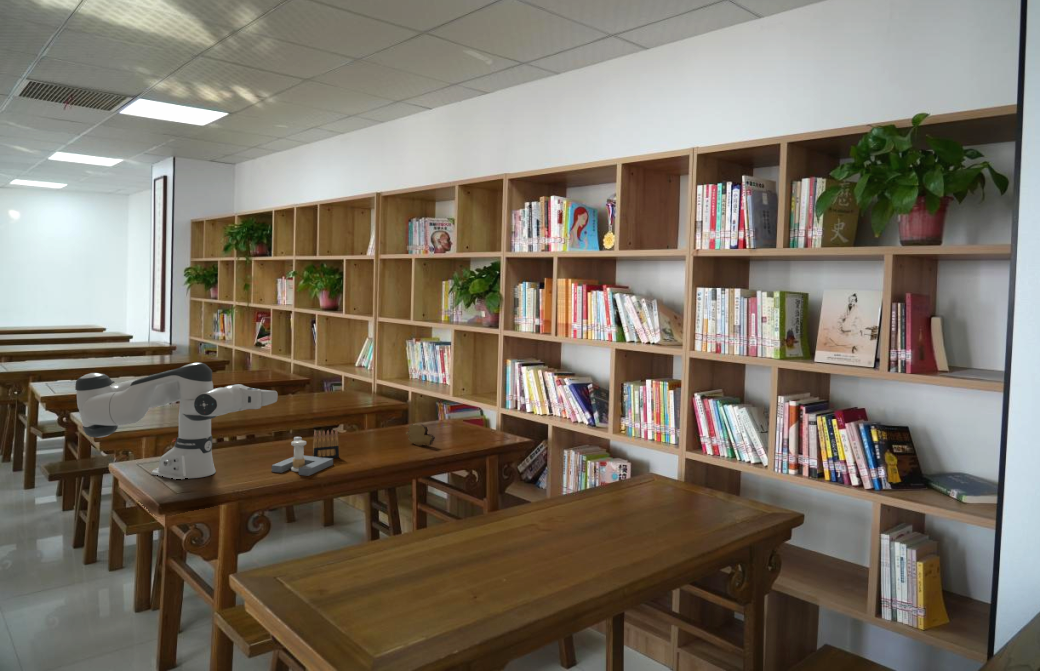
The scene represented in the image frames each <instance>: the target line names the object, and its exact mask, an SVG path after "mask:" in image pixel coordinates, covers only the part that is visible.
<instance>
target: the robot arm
mask: <svg viewBox="0 0 1040 671" xmlns="http://www.w3.org/2000/svg"><path fill="white" fill-rule="evenodd" d="M115 382H116V381H115V380H112V379H111V378H110V376H108V375H107V374H105V373H99V372H90V373H87V374H84V375H83V376H80V377H79V378H77V380H75V386H74V388H75V391H76V404H77V409H78V412H79V416H80V421H81V423H82V429H83V431H84V433H85V435H86V436H88V437H91V438H104V437H108V436H110V435H112V434H114V433H115V432H116V431H117V430H118V428H119V426H125V425H131V424H137V423H139V422H140V421H141V420H142V419H143V418H144V417H145V416H146V414H147V413H148V412H149V410H150V409H151V408H158V407H163V406H167V405H168V404H173V403H176V402H179V407H178V408H179V411H178V437H175V438H172V441H171V442H172V443H174V446H173V447H172V448H171V449H169V450H168V451H166V452H165V453H164V454H163V455H162V456H160V459H159V462H158V467H156V468H154V469H153V470H152V471H151V475H154V476H157V475H158V477H162V476H163V477H164V478H167V479H171V478H173V479H172V480H176V479H181V480H185V478H188V479H198V478H204V477H209V476H211V475H214V474H216V473H217V472H216V468H215V465H214V459H213V453H212V452H213V451H212V449H213V435H212V419H214V418H216V417H218V416H223V415H227V414H228V413H236V412H239V411H245V410H259V409H260V410H261V408H262V407H264V406H269V405H272V404H274V403H277V401H278V396H279V395H278V392H277V391H276V390H267V389H260V388H253V387H249V386H246V385H244V384H241V383H240V384H239V383H238V384H231V385H226V386H224V387H217V388H216V387H215V388H214V383H213V369H211V368H210V366H208V365H207V364H206V363H203V362H193V363H189V364H185V365H183V366H181V367H178V368H174V369H171V370H170V369H169V370H166V371H163V372H159V373H155V374H151V375H148V376H145V377H141V378H135V379H130V380H126V381H122V382H118V383H115ZM163 477H162V478H163Z"/></svg>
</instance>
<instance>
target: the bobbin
mask: <svg viewBox="0 0 1040 671" xmlns="http://www.w3.org/2000/svg"><path fill="white" fill-rule="evenodd" d="M290 444H291V445H290V446H292V447H293V457H294V458H293V467H291V469H290V471H291V472H296V473H297V472H298V473H299V468H301V467H303V466H305V458H304V456H305V455H304V454H305V452H304V451H305V450H304V449H305V446H306V445H307V441H306V440H302V441H294V440H293V441H291V442H290Z"/></svg>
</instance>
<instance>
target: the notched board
mask: <svg viewBox="0 0 1040 671" xmlns="http://www.w3.org/2000/svg"><path fill="white" fill-rule="evenodd" d="M293 441H303V438H302V437H301V436H294V437H293ZM293 458H294V456H292V457H289V458H286V459H284V460H282V461H279V462H277V463H273V464H272V465H271V472H272V473H281V474H282V473H284V472H287V471H289V470H291V467H293ZM304 458H305V466H303V467H301V468H299V472H298V475H300V476H305V477H306V476H308V477H309V476H311V475H313V474H316V473H318V472H320V471H322V470H324V469H326V468H329V467H332V466H333V465H334V458H323V457H313V456H312V455H304Z"/></svg>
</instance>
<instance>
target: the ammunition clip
mask: <svg viewBox="0 0 1040 671" xmlns="http://www.w3.org/2000/svg"><path fill="white" fill-rule="evenodd" d="M339 447H340V446H339V433H338V429H335V432H334V430H333V429H331V432H330V431H329V429H328V430H327V431H326V432H325V429H323V430H322V433H321V430H318V433H317V431H316V430H314V434H313V441H312V455H311V456H313V457H323V458H332V459H339V458H340V453H339V452H340V450H339Z"/></svg>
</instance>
